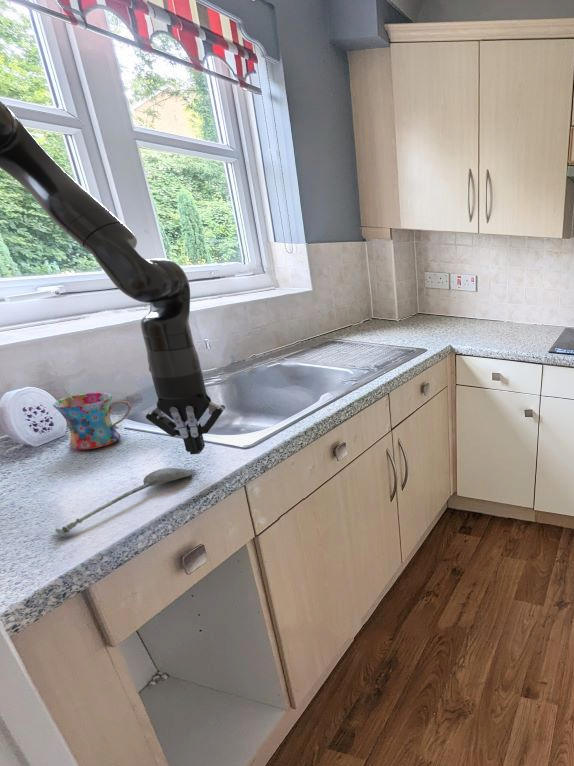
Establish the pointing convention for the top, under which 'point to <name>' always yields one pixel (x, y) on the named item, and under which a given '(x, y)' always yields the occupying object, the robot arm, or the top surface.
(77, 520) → the soupspoon
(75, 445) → the mug
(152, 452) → the top surface
